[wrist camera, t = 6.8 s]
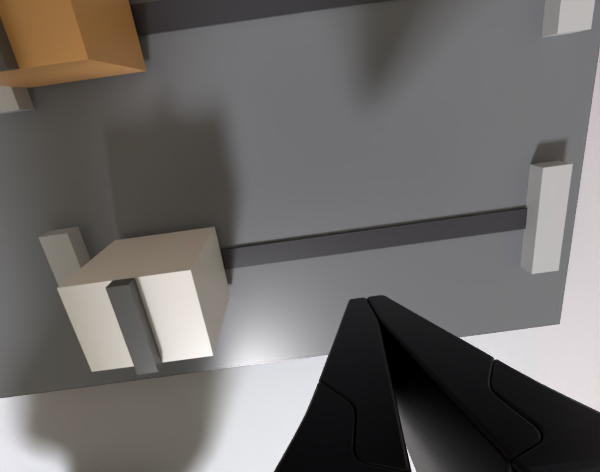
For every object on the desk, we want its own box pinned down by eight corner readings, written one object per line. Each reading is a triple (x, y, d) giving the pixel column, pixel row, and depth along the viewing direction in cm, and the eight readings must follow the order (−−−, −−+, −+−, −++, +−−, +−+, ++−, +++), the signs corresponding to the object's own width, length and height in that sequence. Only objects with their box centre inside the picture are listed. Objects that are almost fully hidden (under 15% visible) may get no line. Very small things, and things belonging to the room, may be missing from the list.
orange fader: (146, 71, 11) (78, 57, 7) (30, 87, 11) (-95, 81, 7) (118, -39, 10) (23, -117, 6) (-9, -20, 10) (-176, -88, 6)
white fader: (230, 295, 14) (210, 365, 10) (137, 307, 14) (84, 381, 10) (214, 226, 13) (186, 276, 9) (114, 240, 13) (47, 295, 9)
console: (529, 299, 17) (571, 334, 15) (29, 366, 17) (-14, 411, 15) (585, -225, 11) (678, -325, 8) (-203, -107, 11) (-347, -168, 9)
